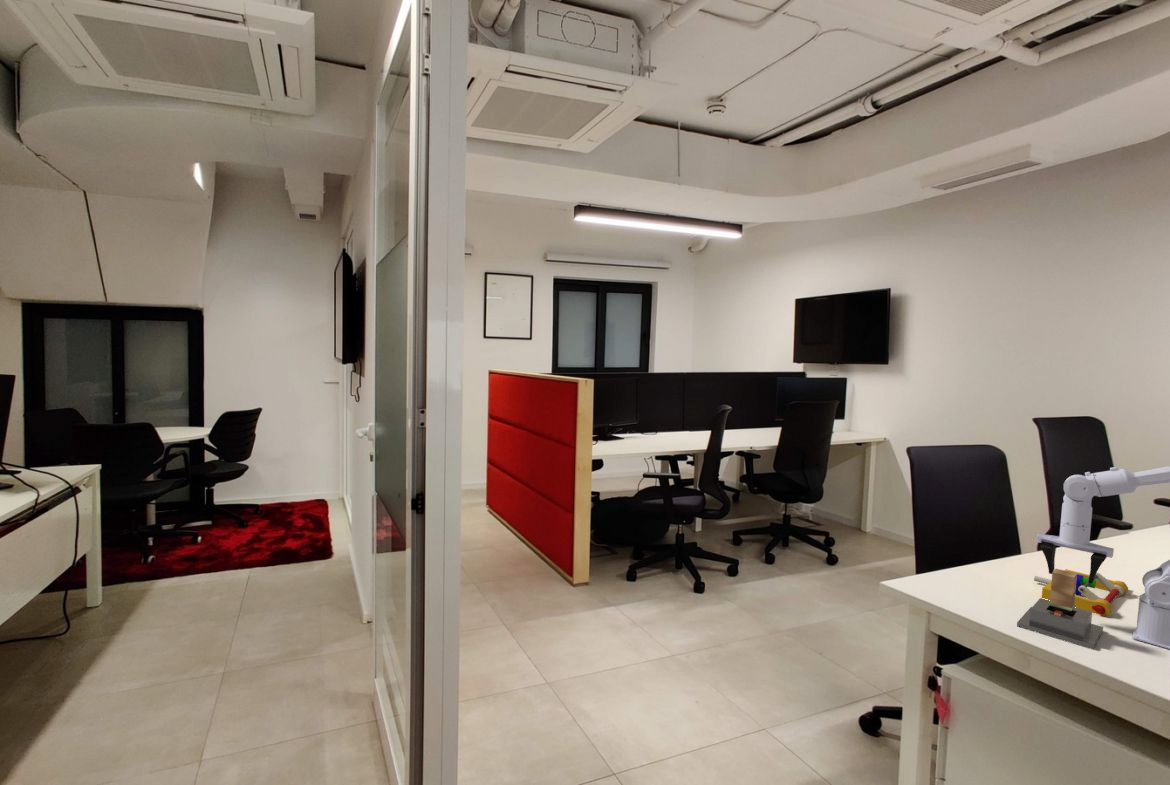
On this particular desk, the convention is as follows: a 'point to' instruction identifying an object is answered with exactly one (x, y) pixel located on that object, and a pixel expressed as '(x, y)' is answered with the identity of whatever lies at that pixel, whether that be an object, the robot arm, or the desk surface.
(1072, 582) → the oak post
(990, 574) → the desk surface
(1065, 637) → the metal sleeve
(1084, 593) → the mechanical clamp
